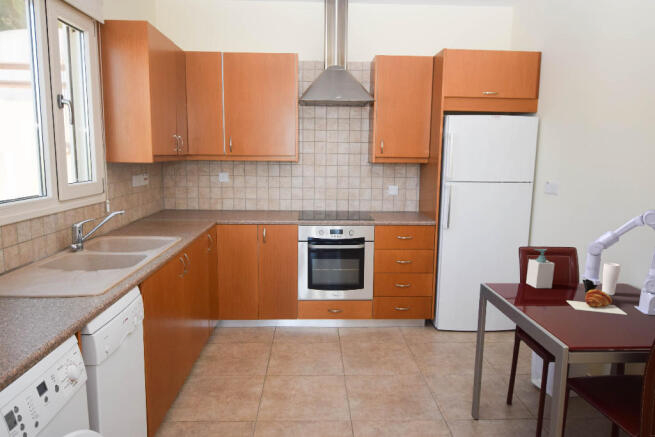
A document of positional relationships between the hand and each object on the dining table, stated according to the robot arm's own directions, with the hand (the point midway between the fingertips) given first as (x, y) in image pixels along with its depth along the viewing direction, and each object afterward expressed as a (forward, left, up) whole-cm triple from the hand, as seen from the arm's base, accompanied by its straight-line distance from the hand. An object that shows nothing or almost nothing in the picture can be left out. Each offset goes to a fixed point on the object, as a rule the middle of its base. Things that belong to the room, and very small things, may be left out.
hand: (588, 295), depth 202 cm
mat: (-13, +1, -2) cm, 13 cm away
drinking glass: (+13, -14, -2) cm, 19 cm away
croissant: (-7, -2, -2) cm, 7 cm away
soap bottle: (+16, +17, -2) cm, 24 cm away
